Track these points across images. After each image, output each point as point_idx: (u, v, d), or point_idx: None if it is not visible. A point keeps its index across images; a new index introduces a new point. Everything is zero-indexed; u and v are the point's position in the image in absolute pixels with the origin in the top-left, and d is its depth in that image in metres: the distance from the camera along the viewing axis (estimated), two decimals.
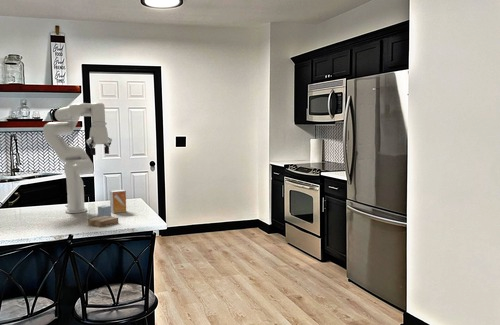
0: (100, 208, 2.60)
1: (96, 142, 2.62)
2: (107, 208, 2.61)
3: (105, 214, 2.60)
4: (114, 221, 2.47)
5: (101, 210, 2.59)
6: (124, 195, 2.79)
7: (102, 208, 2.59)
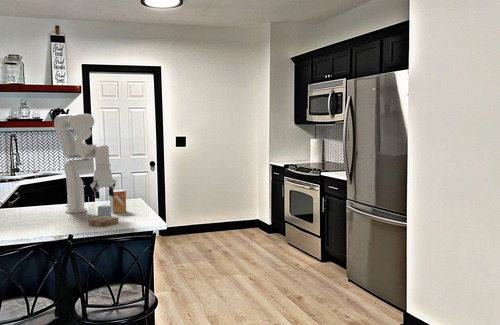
0: (100, 208, 2.60)
1: (100, 185, 2.56)
2: (107, 208, 2.61)
3: (105, 214, 2.60)
4: (114, 221, 2.47)
5: (101, 210, 2.59)
6: (124, 195, 2.79)
7: (102, 208, 2.59)
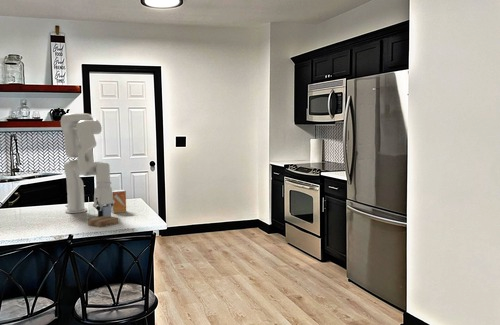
0: None
1: (100, 203, 2.57)
2: (107, 208, 2.61)
3: (105, 214, 2.60)
4: (114, 221, 2.47)
5: (102, 210, 2.59)
6: (124, 195, 2.79)
7: (102, 208, 2.59)
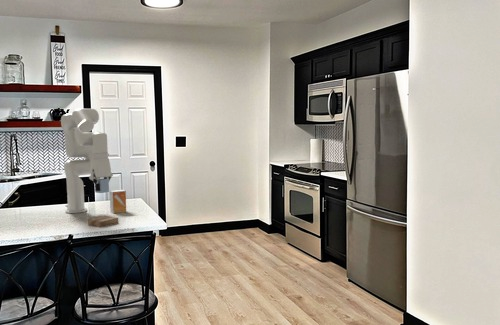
0: None
1: (97, 176, 2.41)
2: (105, 181, 2.45)
3: (103, 188, 2.44)
4: (114, 221, 2.47)
5: (99, 182, 2.43)
6: (124, 195, 2.79)
7: (99, 181, 2.43)
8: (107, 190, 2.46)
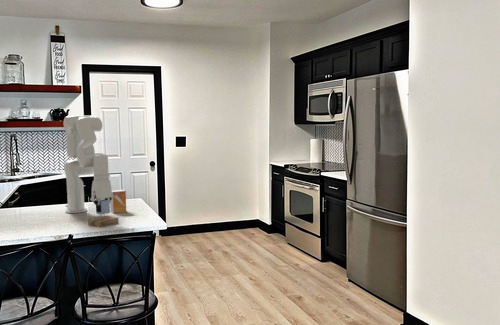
0: None
1: (98, 197, 2.42)
2: (106, 202, 2.46)
3: (104, 209, 2.45)
4: (114, 221, 2.47)
5: (100, 204, 2.44)
6: (124, 195, 2.79)
7: (100, 202, 2.44)
8: (108, 211, 2.47)
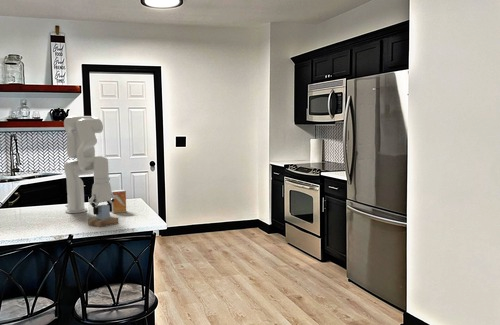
0: (98, 207, 2.45)
1: (99, 200, 2.43)
2: (106, 207, 2.46)
3: (104, 214, 2.45)
4: (114, 221, 2.47)
5: (100, 209, 2.45)
6: (124, 195, 2.79)
7: (100, 207, 2.44)
8: (108, 216, 2.48)
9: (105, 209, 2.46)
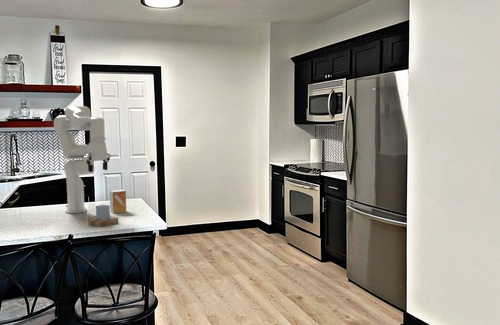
0: (98, 207, 2.45)
1: (94, 159, 2.52)
2: (106, 207, 2.46)
3: (104, 214, 2.45)
4: (114, 221, 2.47)
5: (100, 209, 2.45)
6: (124, 195, 2.79)
7: (100, 207, 2.44)
8: (108, 216, 2.48)
9: (105, 209, 2.46)
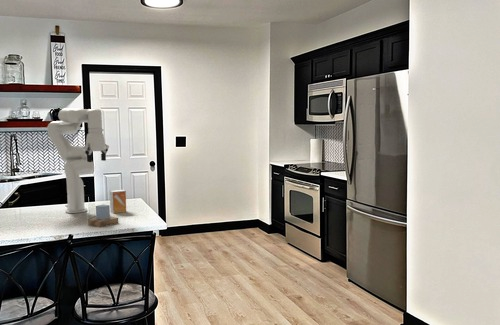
0: (98, 207, 2.45)
1: (92, 149, 2.59)
2: (106, 207, 2.46)
3: (104, 214, 2.45)
4: (114, 221, 2.47)
5: (100, 209, 2.45)
6: (124, 195, 2.79)
7: (100, 207, 2.44)
8: (108, 216, 2.48)
9: (105, 209, 2.46)
